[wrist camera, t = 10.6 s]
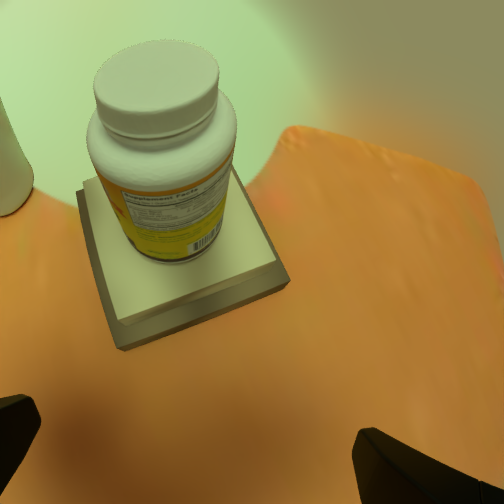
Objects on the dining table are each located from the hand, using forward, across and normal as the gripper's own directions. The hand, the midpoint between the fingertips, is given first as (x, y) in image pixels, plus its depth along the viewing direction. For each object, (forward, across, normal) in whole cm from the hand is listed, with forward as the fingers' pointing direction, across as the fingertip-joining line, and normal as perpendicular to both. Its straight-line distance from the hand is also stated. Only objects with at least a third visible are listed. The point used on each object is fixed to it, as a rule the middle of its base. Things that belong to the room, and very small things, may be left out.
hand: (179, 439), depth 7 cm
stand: (+15, -4, +2) cm, 16 cm away
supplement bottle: (+12, -3, +4) cm, 13 cm away
